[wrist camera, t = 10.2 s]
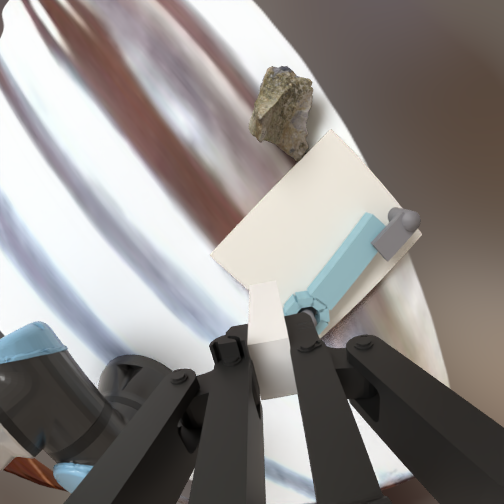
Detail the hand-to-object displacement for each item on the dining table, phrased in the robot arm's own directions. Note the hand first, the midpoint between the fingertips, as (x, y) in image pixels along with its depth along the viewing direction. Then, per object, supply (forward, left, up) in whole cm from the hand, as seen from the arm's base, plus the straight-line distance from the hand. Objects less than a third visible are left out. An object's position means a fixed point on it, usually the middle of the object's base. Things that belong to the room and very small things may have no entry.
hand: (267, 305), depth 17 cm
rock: (+13, +8, -23) cm, 28 cm away
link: (+3, -10, -21) cm, 23 cm away
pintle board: (+5, -6, -22) cm, 24 cm away
